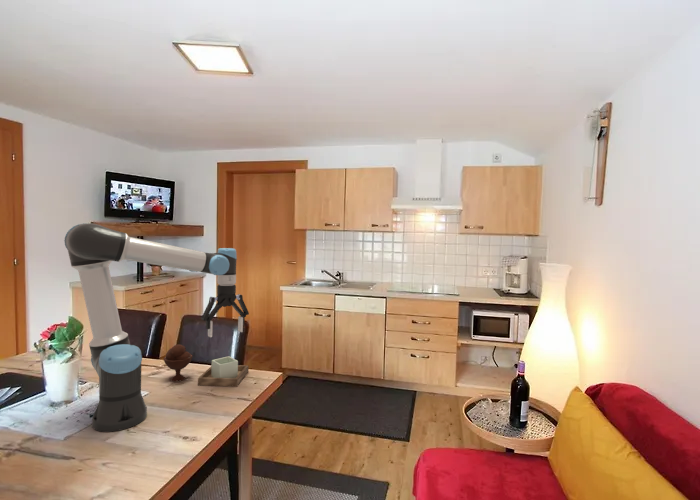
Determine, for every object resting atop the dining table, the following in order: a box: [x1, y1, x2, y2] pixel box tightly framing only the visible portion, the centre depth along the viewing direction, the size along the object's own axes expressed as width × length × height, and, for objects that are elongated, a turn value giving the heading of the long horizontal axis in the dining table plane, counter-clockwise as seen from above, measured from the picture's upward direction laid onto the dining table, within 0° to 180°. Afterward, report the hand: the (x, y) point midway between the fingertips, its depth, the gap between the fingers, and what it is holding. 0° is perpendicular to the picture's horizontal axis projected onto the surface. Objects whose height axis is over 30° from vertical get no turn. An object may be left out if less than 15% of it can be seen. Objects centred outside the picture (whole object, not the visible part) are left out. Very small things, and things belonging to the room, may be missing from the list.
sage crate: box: [211, 355, 239, 378], centre depth 156 cm, size 8×8×7 cm
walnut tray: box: [197, 364, 249, 388], centre depth 157 cm, size 16×16×3 cm
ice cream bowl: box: [163, 343, 193, 382], centre depth 155 cm, size 11×11×15 cm
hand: (225, 334), depth 156 cm, fingers open, 13 cm apart
